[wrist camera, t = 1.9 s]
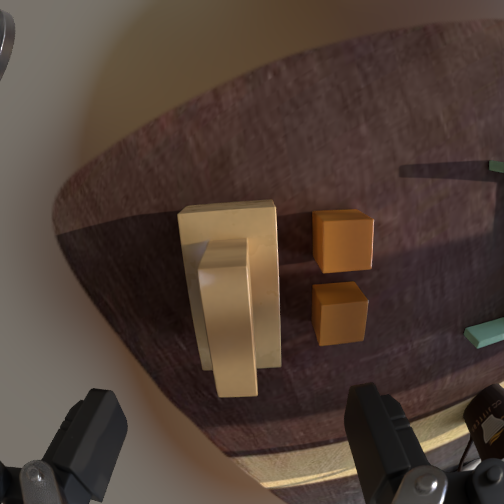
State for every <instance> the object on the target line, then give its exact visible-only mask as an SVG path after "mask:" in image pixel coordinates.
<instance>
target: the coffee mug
mask: <svg viewBox="0 0 504 504" xmlns="http://www.w3.org/2000/svg"><path fill="white" fill-rule="evenodd" d="M463 418H464V421H465V423H466V425H467V427H468V430H469V432H470V440H469V442H468V445H467V447H466V449H465V451H464V453H463V456H462V458H461V460H460V463H459V467H458V471H457V472H460V471H461V470H462V466H463V463H464V460H465V458H466V456H467V454H468V452H469V449H470V447H471V445H472V443H473V441H474V444H475V446H476V448H477V451H478V453H479V456H480V458H481V462H482V461H483V460H486V459H489V458H497V459H500V460H502V461H504V388H502V387H501V386H500V385H499V384H493V385H491V386H489V387H487V388H486V389H484V390H483V391H482V392H480V393H479V394H478V395H477V396H476V397H475V398H474V399H473V400H472V401H471V403H470V404H469V405H468V407H467V408H466V410H465V412H464V415H463Z"/></svg>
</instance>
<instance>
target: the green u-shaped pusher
mask: <svg viewBox="0 0 504 504" xmlns="http://www.w3.org/2000/svg"><path fill="white" fill-rule="evenodd" d="M489 170H491V171H496V172H501V173H504V162H498V161H491V160H490V161H489ZM464 336H465V337H466V338H467V339H468V340H469V341H470V342H471V343H472V344H473V345H474V346H475V347H476V348H477V349H478V348H481V347H484V346H487V345H490V344H493V343H495V342H498V341H501V340H504V317H503V318H499V319H496V320H493V321H489V322H486V323H482V324H479V325H475V326H471V327H467V328H465V331H464Z"/></svg>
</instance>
